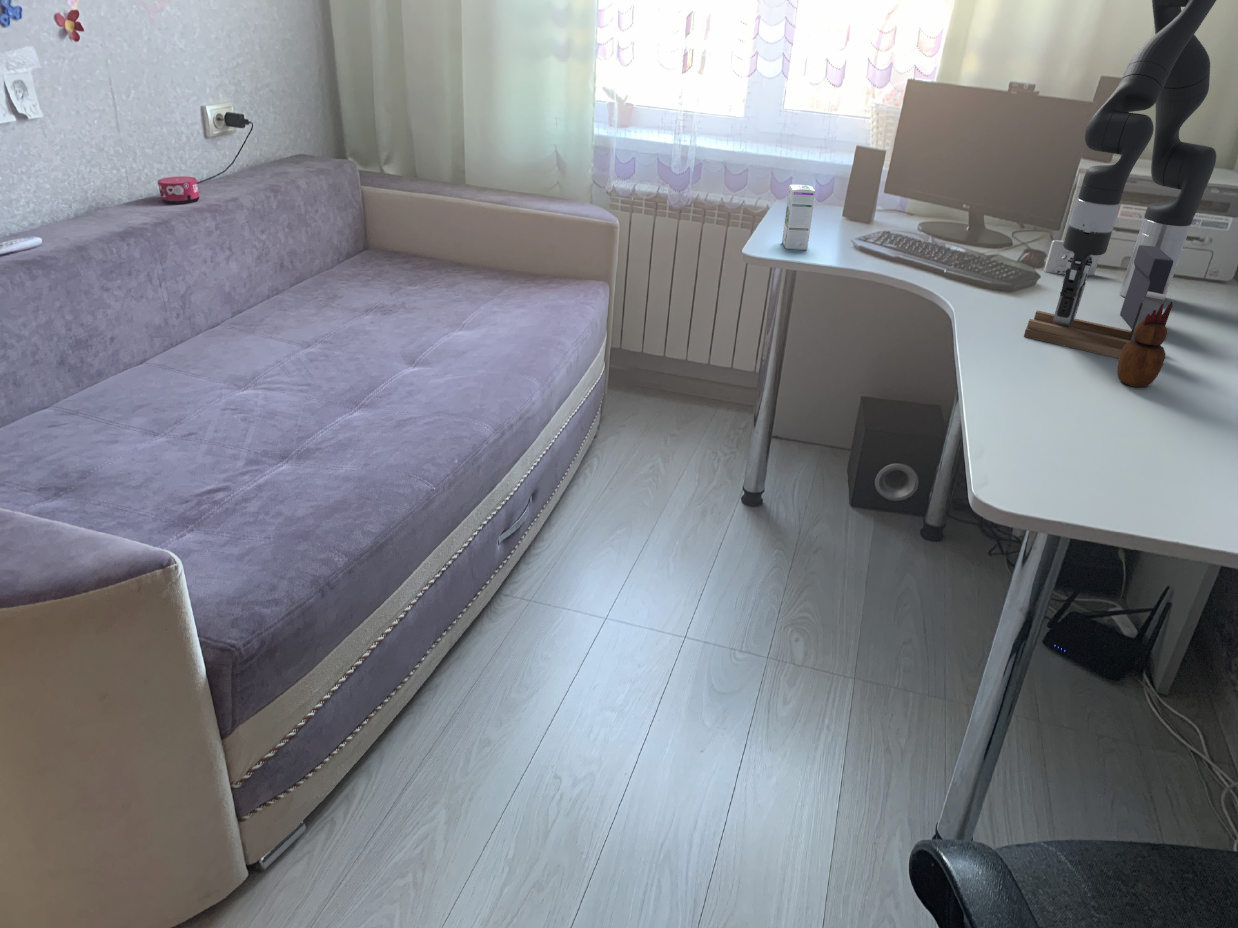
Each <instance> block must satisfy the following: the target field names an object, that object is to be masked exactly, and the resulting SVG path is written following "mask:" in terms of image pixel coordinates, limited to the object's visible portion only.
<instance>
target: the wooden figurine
mask: <svg viewBox="0 0 1238 928" xmlns="http://www.w3.org/2000/svg"><path fill="white" fill-rule="evenodd" d="M1173 304H1174V302H1173V301H1170V303H1169V304H1168V305H1167V307H1166V309H1165V310H1164V303H1163V304H1161V306H1160V308H1159V310H1158V312H1157V314H1156V310H1153V312H1152V314H1151V316H1150V314H1147V316H1146V317H1145V319H1144V321H1142V322H1141V323H1139V324H1137V326H1136V327H1135V330H1134V334H1133V337H1134V339H1135V340H1133V341H1129V342H1128V343H1126V344H1125V345H1124V346H1123V348H1122V350H1121V353H1120V356H1119V358H1118V360H1117V370H1116V371H1117V377H1118V380H1120V382H1121V383H1123V384H1125V385H1128V386H1130V385H1131V387H1134V386H1135V388H1139V387H1140V388H1144V387H1148V386H1150V385H1151V384H1152V383H1154V381H1155V380H1156V379H1157V378H1158V376H1159V374H1160V373H1161V371H1162V368H1163V366H1164V363H1165V359H1166V351H1165V348H1164V347H1163V346H1162V344H1163V343H1164V341H1165V340H1166V339H1167V337H1168V328H1167V326H1166V325H1167V322H1168V320H1169V317H1170V313H1171V310H1172V308H1173ZM1163 311H1164V312H1163ZM1160 345H1161V346H1160Z"/></svg>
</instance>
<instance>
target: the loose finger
mask: <svg viewBox="0 0 1238 928" xmlns="http://www.w3.org/2000/svg"><path fill="white" fill-rule="evenodd" d="M1080 280H1081V278H1080V279H1079V282H1080ZM1086 284H1087V282H1086V281H1085V282H1083V285H1082V287H1080V288H1078V291H1077V294H1076V295H1077V297H1076V298H1075V300H1074V303H1073V306H1072V309H1071V313H1070V316H1069V317H1068V318H1064V317H1059V316H1058V315H1057V312H1058V309H1059V305H1060V302H1061V298H1062V297H1061V296H1059V298H1058V302H1057V306H1056V309H1055V311H1054V314H1055V315H1054V318H1053V322H1052V324H1055V325H1060V326H1064V327H1069V326H1070V325H1071V323H1072V321H1073V320H1074V319H1076V316H1077V313H1078V309H1079V307H1080V304H1081V300H1082V297H1083V293H1084V290H1085V287H1086ZM1067 291H1072V292H1073V288H1070V287H1067ZM1059 294H1060V293H1059ZM1060 295H1061V294H1060Z"/></svg>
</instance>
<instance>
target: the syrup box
mask: <svg viewBox="0 0 1238 928" xmlns="http://www.w3.org/2000/svg"><path fill="white" fill-rule="evenodd" d="M815 196H816V190H815V189H814V187H813V186H812V185H807V184H789V187H788V194H787V202H786V210H785V216H784V225H783V233H782V240H781V242H782V245H783V247H784V249H787V250H788V249H789V250H799V251H801V250H802V251H807V250H808V246H809V241H810V235H811V234H810V233H811V226H812V219H813V212H814V211H813V210H814V204H815Z"/></svg>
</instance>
